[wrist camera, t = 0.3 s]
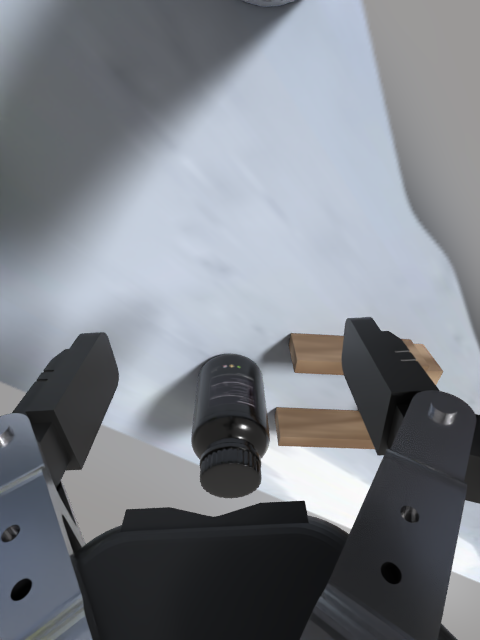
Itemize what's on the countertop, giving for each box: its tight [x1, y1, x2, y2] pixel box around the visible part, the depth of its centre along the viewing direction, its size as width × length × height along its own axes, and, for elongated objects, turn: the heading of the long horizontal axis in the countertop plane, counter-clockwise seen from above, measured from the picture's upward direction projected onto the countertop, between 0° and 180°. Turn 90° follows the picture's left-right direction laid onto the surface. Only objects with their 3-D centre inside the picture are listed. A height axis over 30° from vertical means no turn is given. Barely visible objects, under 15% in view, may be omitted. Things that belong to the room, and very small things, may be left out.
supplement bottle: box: [191, 354, 270, 498], centre depth 32 cm, size 7×7×12 cm
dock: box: [275, 333, 443, 449], centre depth 36 cm, size 12×14×4 cm
